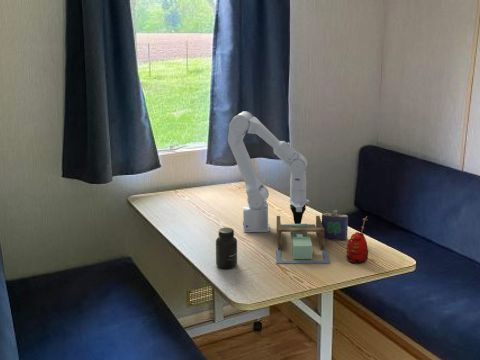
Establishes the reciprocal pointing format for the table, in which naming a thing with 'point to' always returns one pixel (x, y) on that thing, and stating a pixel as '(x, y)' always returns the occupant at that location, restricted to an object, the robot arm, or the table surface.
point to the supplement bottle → (226, 249)
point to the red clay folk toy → (357, 247)
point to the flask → (335, 226)
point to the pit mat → (289, 226)
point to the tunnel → (318, 230)
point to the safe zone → (325, 255)
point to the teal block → (301, 243)
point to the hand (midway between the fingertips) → (297, 224)
